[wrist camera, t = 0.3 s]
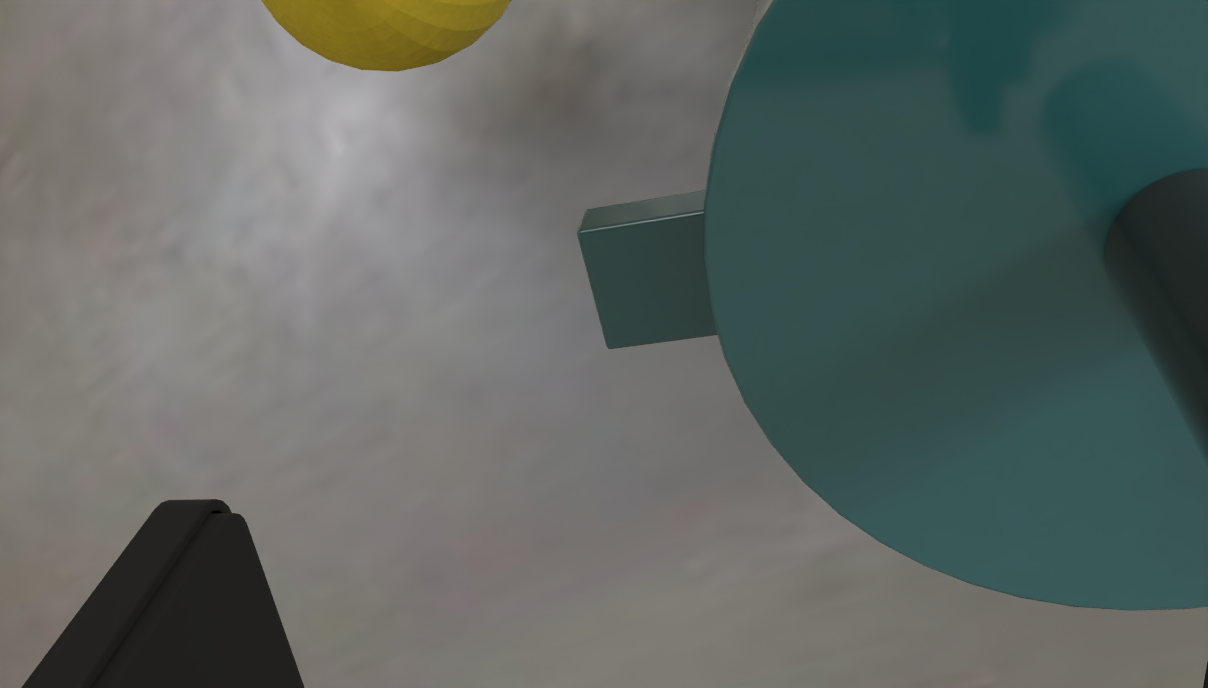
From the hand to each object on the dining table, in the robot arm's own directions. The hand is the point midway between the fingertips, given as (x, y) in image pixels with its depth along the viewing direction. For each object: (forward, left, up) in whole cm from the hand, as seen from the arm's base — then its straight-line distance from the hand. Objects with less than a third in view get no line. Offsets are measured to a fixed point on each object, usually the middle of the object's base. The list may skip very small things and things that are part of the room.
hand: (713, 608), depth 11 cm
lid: (+1, +6, -9) cm, 11 cm away
